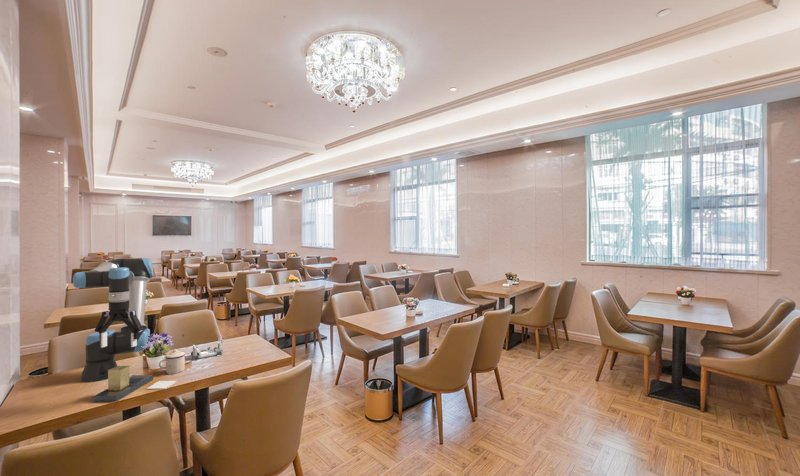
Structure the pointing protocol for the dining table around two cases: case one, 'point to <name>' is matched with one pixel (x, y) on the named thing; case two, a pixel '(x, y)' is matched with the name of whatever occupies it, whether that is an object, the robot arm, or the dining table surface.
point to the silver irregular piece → (207, 351)
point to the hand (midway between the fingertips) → (119, 346)
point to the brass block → (118, 378)
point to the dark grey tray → (134, 384)
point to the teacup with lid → (174, 362)
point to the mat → (161, 385)
